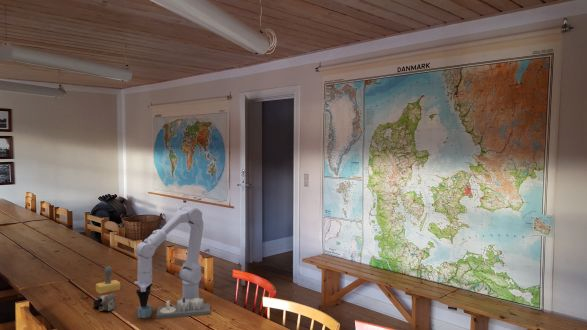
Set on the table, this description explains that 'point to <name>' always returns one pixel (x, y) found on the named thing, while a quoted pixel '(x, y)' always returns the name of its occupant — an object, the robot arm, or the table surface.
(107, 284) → the rubber stamp
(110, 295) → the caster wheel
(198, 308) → the gear board
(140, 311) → the slate gear
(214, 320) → the table surface
